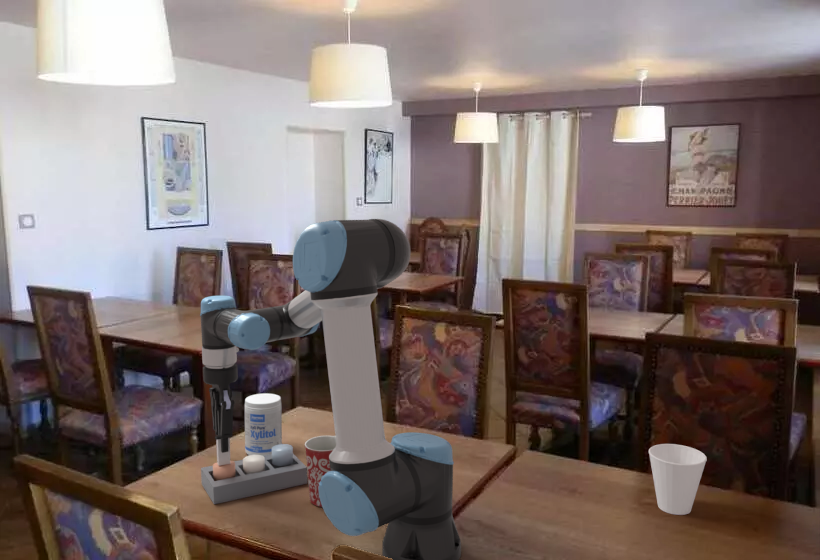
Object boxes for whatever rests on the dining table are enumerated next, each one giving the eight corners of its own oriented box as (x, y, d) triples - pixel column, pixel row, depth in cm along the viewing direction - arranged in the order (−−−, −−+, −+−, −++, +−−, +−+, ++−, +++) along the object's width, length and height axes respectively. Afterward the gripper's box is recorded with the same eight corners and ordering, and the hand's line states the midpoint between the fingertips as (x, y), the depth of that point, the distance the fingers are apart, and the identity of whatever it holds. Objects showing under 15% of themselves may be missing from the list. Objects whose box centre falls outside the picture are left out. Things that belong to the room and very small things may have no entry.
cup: (667, 523, 144) (670, 467, 142) (635, 498, 155) (637, 446, 154) (715, 516, 147) (719, 461, 145) (680, 492, 159) (683, 441, 157)
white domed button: (267, 474, 162) (267, 460, 161) (246, 479, 159) (246, 464, 159) (261, 467, 166) (260, 453, 166) (240, 471, 164) (240, 457, 163)
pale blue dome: (295, 463, 165) (295, 449, 164) (275, 467, 163) (275, 453, 162) (288, 456, 169) (288, 442, 169) (269, 460, 167) (268, 446, 166)
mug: (334, 512, 149) (333, 452, 147) (298, 504, 152) (296, 446, 151) (360, 488, 160) (359, 433, 159) (326, 482, 164) (325, 427, 162)
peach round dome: (238, 480, 158) (237, 466, 158) (216, 485, 156) (215, 470, 155) (232, 472, 163) (231, 458, 162) (211, 477, 160) (210, 462, 160)
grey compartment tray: (307, 483, 163) (307, 467, 163) (213, 504, 153) (213, 487, 152) (290, 465, 174) (289, 450, 173) (201, 483, 163) (200, 467, 162)
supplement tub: (250, 461, 176) (248, 406, 174) (241, 449, 184) (239, 396, 182) (287, 454, 181) (286, 400, 179) (276, 442, 189) (275, 390, 187)
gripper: (244, 368, 152) (248, 470, 155) (229, 355, 163) (232, 451, 166) (210, 373, 148) (214, 477, 151) (196, 359, 159) (200, 457, 163)
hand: (223, 463), depth 159 cm, fingers closed
